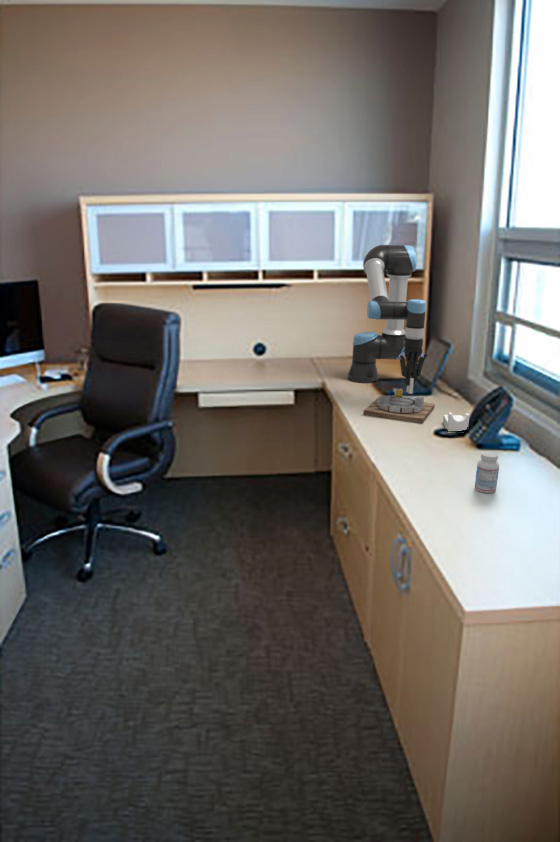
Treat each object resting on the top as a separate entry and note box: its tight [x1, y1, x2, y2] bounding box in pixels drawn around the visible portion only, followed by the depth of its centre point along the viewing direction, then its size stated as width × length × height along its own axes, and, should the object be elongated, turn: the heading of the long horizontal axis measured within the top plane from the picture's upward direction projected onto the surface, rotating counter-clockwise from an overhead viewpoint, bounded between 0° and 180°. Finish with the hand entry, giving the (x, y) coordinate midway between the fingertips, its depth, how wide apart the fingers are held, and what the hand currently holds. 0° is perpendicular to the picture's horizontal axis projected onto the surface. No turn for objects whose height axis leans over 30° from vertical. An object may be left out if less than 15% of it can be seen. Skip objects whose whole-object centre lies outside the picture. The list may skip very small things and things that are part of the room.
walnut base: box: [363, 396, 436, 424], centre depth 261 cm, size 24×24×4 cm
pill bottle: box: [474, 450, 500, 494], centre depth 184 cm, size 6×6×11 cm
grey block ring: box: [376, 388, 425, 413], centre depth 260 cm, size 19×19×5 cm
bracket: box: [442, 411, 470, 431], centre depth 241 cm, size 13×7×8 cm, turn 174°
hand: (409, 392), depth 269 cm, fingers closed
